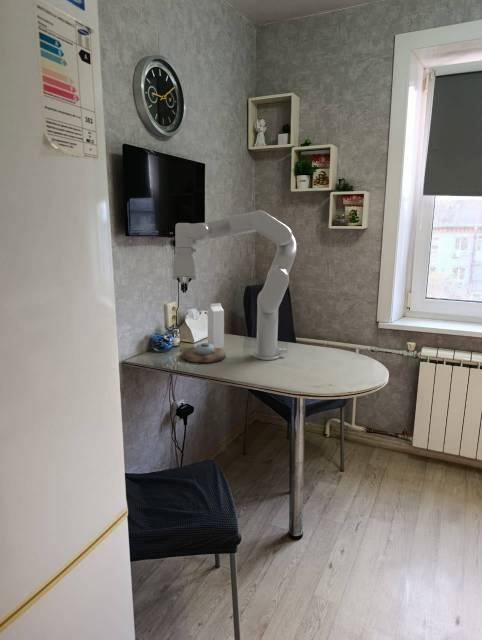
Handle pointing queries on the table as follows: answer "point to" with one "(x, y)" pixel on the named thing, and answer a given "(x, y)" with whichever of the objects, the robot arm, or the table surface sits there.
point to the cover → (205, 349)
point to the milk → (216, 325)
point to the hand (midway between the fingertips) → (184, 292)
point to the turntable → (194, 357)
